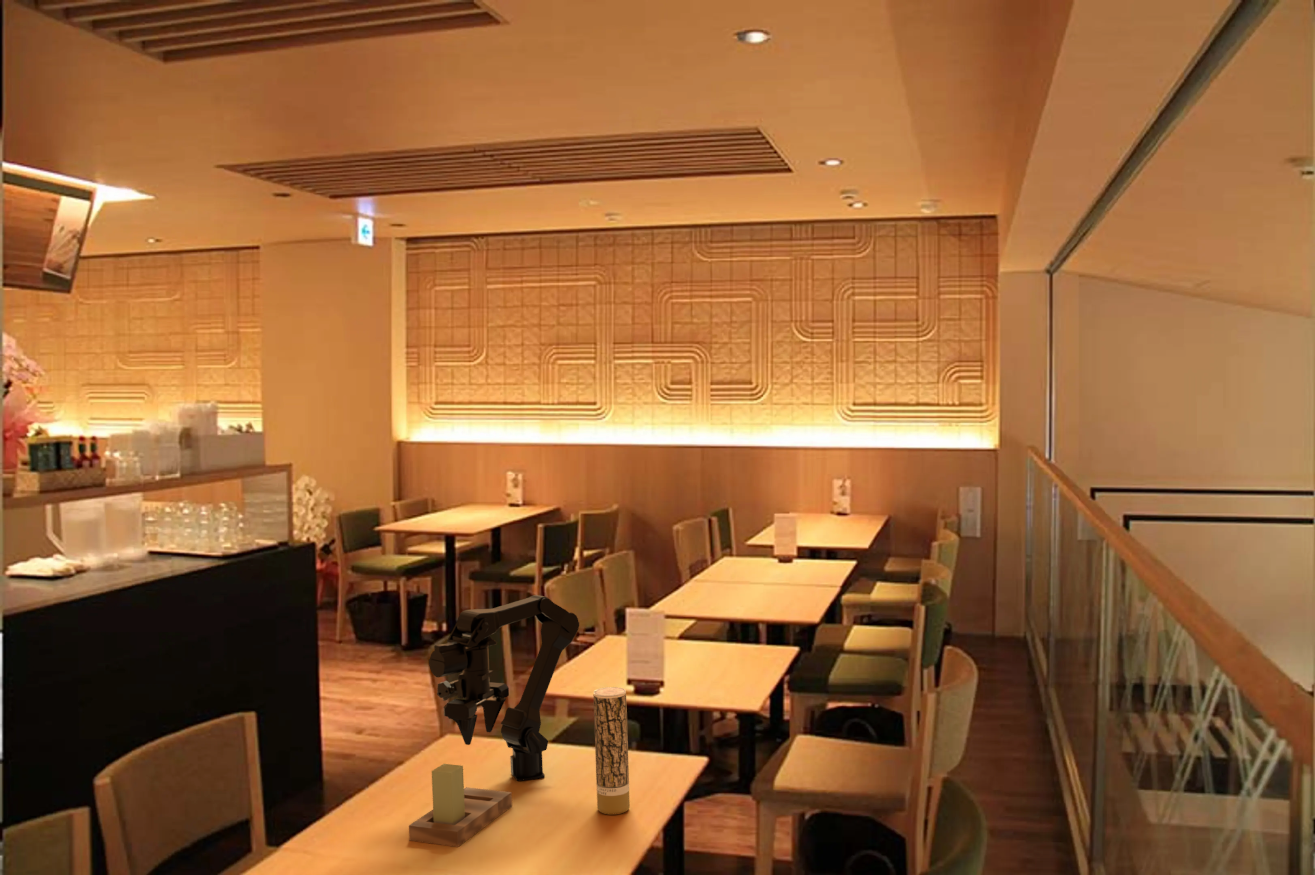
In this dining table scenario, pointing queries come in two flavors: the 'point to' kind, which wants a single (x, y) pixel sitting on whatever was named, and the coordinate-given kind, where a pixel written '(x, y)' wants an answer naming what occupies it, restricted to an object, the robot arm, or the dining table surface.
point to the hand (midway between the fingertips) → (478, 738)
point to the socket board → (478, 814)
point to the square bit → (448, 794)
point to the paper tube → (611, 750)
